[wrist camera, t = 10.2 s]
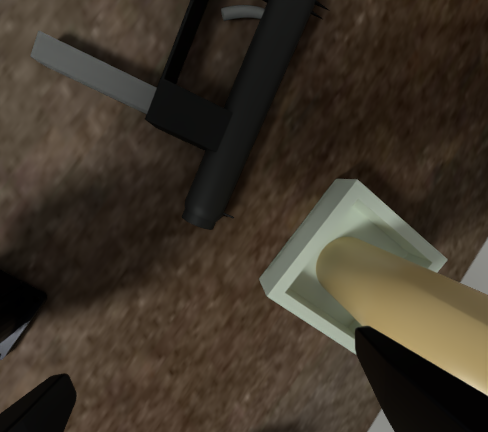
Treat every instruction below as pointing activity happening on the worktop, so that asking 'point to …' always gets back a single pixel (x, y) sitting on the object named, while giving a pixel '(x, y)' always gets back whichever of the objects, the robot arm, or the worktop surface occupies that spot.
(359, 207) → the tray
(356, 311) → the tan rounded cylinder
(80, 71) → the door handle
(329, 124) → the worktop surface
